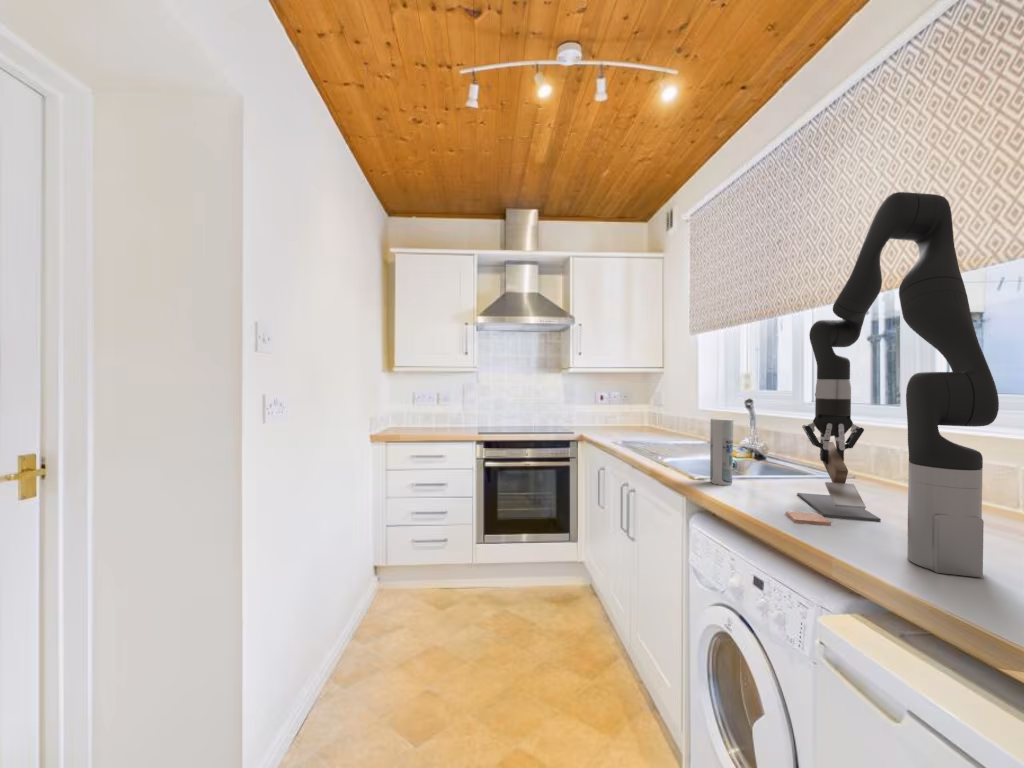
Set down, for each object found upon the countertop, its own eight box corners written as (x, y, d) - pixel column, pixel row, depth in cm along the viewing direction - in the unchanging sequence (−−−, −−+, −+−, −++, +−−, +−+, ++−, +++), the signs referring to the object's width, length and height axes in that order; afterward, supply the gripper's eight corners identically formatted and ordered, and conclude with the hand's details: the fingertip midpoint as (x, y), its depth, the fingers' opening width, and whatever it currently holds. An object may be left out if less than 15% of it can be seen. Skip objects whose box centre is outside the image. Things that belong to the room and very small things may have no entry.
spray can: (715, 480, 147) (716, 417, 147) (736, 483, 142) (736, 419, 142) (706, 482, 142) (706, 418, 142) (727, 486, 138) (728, 420, 138)
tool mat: (880, 521, 104) (880, 518, 104) (824, 516, 107) (824, 514, 107) (843, 498, 125) (843, 496, 125) (797, 494, 128) (797, 492, 128)
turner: (812, 454, 124) (814, 441, 122) (837, 456, 122) (841, 442, 120) (835, 506, 108) (838, 491, 105) (865, 508, 106) (869, 493, 104)
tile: (819, 518, 107) (830, 528, 100) (785, 515, 109) (794, 524, 102) (819, 513, 107) (830, 522, 100) (785, 510, 109) (794, 519, 102)
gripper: (806, 397, 117) (805, 464, 117) (871, 398, 112) (870, 468, 112) (798, 396, 124) (797, 460, 124) (858, 397, 119) (857, 463, 120)
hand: (831, 463), depth 118 cm, fingers closed on turner, 2 cm apart
